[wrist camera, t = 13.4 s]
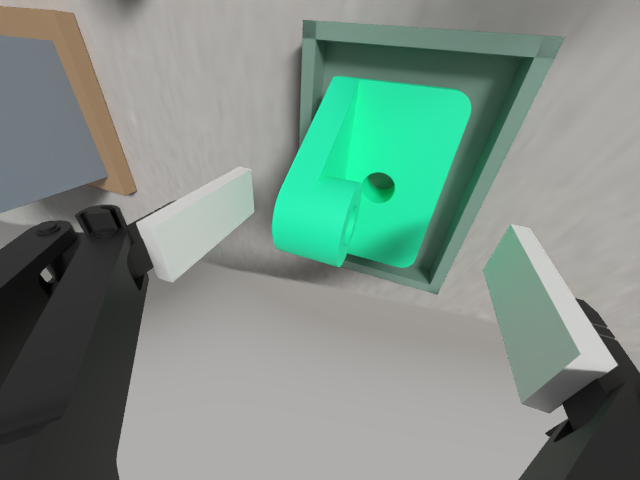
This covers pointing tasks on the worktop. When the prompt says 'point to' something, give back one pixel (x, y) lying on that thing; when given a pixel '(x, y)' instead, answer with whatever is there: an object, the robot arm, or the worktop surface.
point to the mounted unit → (52, 112)
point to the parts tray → (441, 71)
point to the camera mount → (369, 171)
